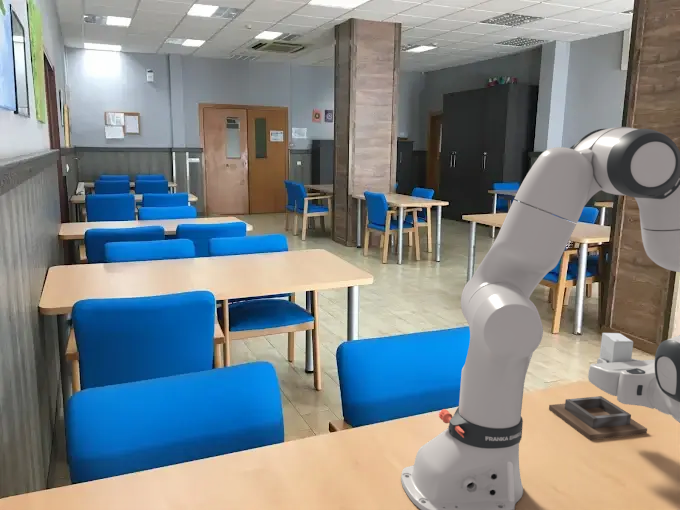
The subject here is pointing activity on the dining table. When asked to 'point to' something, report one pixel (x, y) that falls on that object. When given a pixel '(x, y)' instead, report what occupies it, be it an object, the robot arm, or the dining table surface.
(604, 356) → the skincare box
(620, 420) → the collar stand
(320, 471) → the dining table surface
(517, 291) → the robot arm
